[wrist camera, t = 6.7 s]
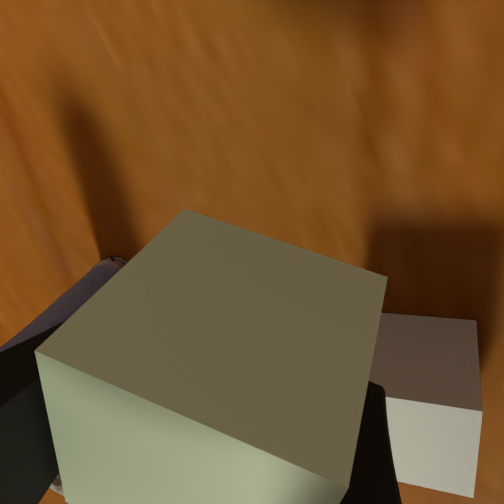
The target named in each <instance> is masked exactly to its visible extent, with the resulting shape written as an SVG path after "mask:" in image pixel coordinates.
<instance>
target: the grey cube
mask: <svg viewBox="0 0 504 504" xmlns="http://www.w3.org/2000/svg"><path fill="white" fill-rule="evenodd" d="M369 381H371V382H373V383H376V384H378V385H381V386H383V388H384V390H385V391H386V409H387V420H388V428H389V436H390V443H391V450H392V456H393V462H394V467H395V472H396V477H397V481H399V482H404V483H408V484H413V485H417V486H422V487H426V488H431V489H435V490H440V491H444V492H449V493H453V494H458V495H462V496H467V497H471V498H473V497H474V488H475V478H476V469H477V459H478V450H479V441H480V431H481V422H482V412H483V410H482V396H481V382H480V367H479V353H478V338H477V324H476V320H464V319H452V318H440V317H428V316H416V315H403V314H391V313H381V316H380V322H379V327H378V332H377V338H376V343H375V348H374V354H373V359H372V365H371V370H370V375H369Z"/></svg>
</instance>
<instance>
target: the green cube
mask: <svg viewBox="0 0 504 504" xmlns="http://www.w3.org/2000/svg"><path fill="white" fill-rule="evenodd" d="M387 279H388V277H386V276H383V275H380V274H377V273H374V272H371V271H368V270H365V269H362V268H359V267H356V266H353V265H350V264H347V263H344V262H341V261H338V260H335V259H333V258H330V257H327V256H324V255H321V254H318V253H315V252H312V251H309V250H306V249H303V248H300V247H297V246H294V245H291V244H288V243H285V242H282V241H279V240H276V239H273V238H270V237H267V236H264V235H261V234H258V233H255V232H252V231H249V230H246V229H243V228H240V227H237V226H234V225H231V224H228V223H225V222H222V221H219V220H216V219H213V218H210V217H207V216H204V215H201V214H198V213H195V212H192V211H189V210H186V209H184V210H183V211H182V212H181V213H180V214H179V215H178V216H177V217H176V218H174V219H173V220H172V221H171V222H170V223H169V224H168V225H167V226H166V227H165V228H164V229H163V230H162V231H161V232H160V233H159V234H158V235H156V236H155V237H154V238H153V239H152V240H151V241H150V242H149V243H148V244H147V245H146V246H145V247H144V248H143V249H142V250H141V251H140V252H138V253H137V254H136V255H135V256H134V257H133V258H132V259H131V260H130V261H129V262H128V263H127V264H126V265H125V266H124V267H123V268H122V269H120V270H119V271H118V272H117V273H116V274H115V275H114V276H113V277H112V278H111V279H110V280H109V281H108V282H107V283H106V284H105V285H104V286H102V287H101V288H100V289H99V290H98V291H97V292H96V293H95V294H94V295H93V296H92V297H91V298H90V299H89V300H88V301H87V302H86V303H85V304H83V305H82V306H81V307H80V308H79V309H78V310H77V311H76V312H75V313H74V314H73V315H72V316H71V317H70V318H69V319H68V320H67V321H65V322H64V323H63V324H62V325H61V326H60V327H59V328H58V329H57V330H56V331H55V332H54V333H53V334H52V335H51V336H50V337H49V338H47V339H46V340H45V341H44V342H43V343H42V344H41V345H40V346H39V347H38V348H37V349H36V350H35V356H36V360H37V365H38V370H39V375H40V380H41V385H42V390H43V394H44V399H45V404H46V409H47V414H48V419H49V423H50V428H51V433H52V438H53V443H54V448H55V453H56V457H57V462H58V467H59V472H60V477H61V482H62V486H63V491H64V496H65V501H66V502H67V503H69V504H340V502H341V500H342V499H343V497H344V495H345V493H346V492H347V490H348V488H349V482H350V477H351V472H352V466H353V461H354V456H355V450H356V445H357V440H358V434H359V429H360V423H361V418H362V413H363V407H364V402H365V397H366V391H367V386H368V381H369V375H370V370H371V365H372V359H373V354H374V348H375V343H376V338H377V332H378V327H379V322H380V316H381V311H382V306H383V300H384V295H385V290H386V284H387Z"/></svg>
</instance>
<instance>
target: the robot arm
mask: <svg viewBox="0 0 504 504" xmlns="http://www.w3.org/2000/svg"><path fill="white" fill-rule="evenodd" d="M67 320H68V319H67ZM67 320H65V321H67ZM65 321H63V322H61V323H59V324H57V325H55V326H53V327H51V328H49V329H47V330H45V331H43V332H41V333H39V334H37V335H35V336H33V337H31V338H29V339H27V340H25V341H23V342H21V343H18V344H16V345H14V346H12V347H10V348H8V349H6V350H3V351H1V352H0V504H38V503H39V502H40V500H41V499H42V497H43V496H44V494H45V493H46V491H47V490H48V488H49V487H50V485H51V484H52V482H53V481H54V479H55V478H56V477H57V475H58V474H59V473H60V472H59V467H58V462H57V457H56V453H55V448H54V443H53V438H52V433H51V428H50V423H49V419H48V414H47V409H46V404H45V399H44V394H43V390H42V385H41V380H40V375H39V370H38V365H37V360H36V356H35V350H36V349H37V348H38V347H39V346H40V345H41V344H42V343H43V342H44V341H45V340H46V339H47V338H49V337H50V336H51V335H52V334H53V333H54V332H55V331H56V330H57V329H58V328H59V327H60V326H61V325H62V324H63V323H64V322H65ZM340 504H402V502H401V498H400V492H399V487H398V482H397V477H396V472H395V467H394V462H393V456H392V450H391V443H390V436H389V428H388V420H387V409H386V391H385V390H384V388H383V386H381V385H378V384H376V383H373V382H371V381H368V386H367V391H366V397H365V402H364V407H363V413H362V418H361V423H360V429H359V434H358V440H357V445H356V450H355V456H354V461H353V466H352V472H351V477H350V482H349V488H348V490H347V492H346V493H345V495H344V497H343V499H342V500H341V502H340Z"/></svg>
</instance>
